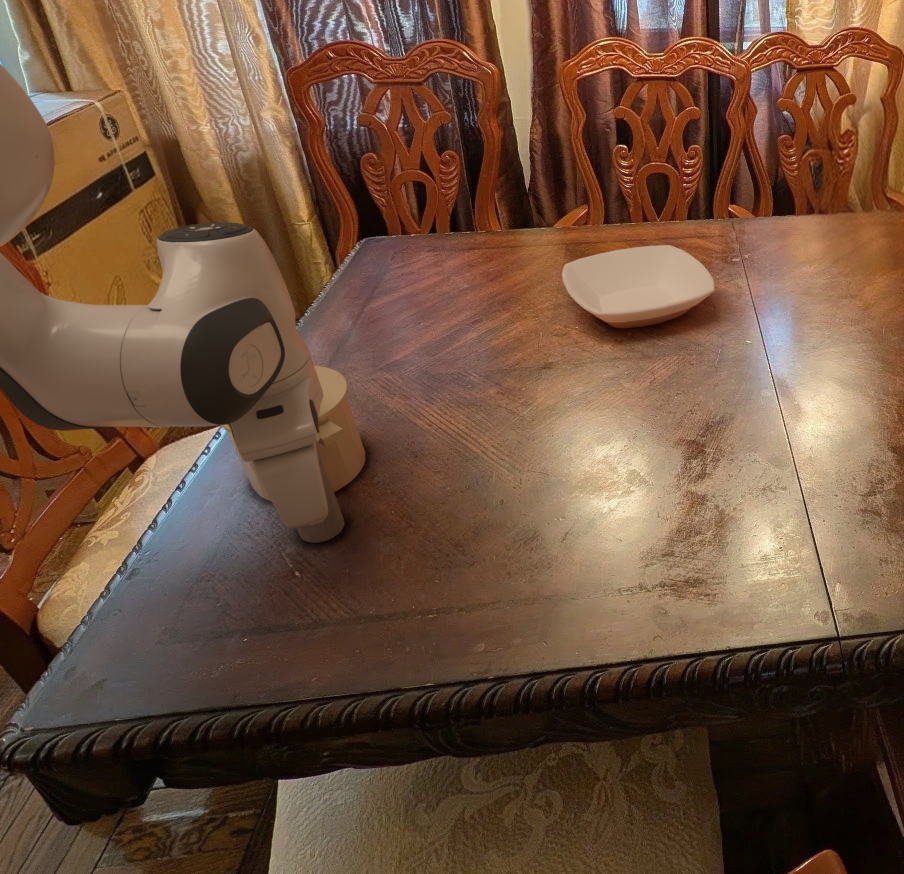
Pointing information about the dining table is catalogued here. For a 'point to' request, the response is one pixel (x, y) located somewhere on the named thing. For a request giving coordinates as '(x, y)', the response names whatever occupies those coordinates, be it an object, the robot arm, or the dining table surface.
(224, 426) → the pot lid
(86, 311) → the robot arm
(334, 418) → the pot
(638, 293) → the bowl
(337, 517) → the planter
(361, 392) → the dining table surface
